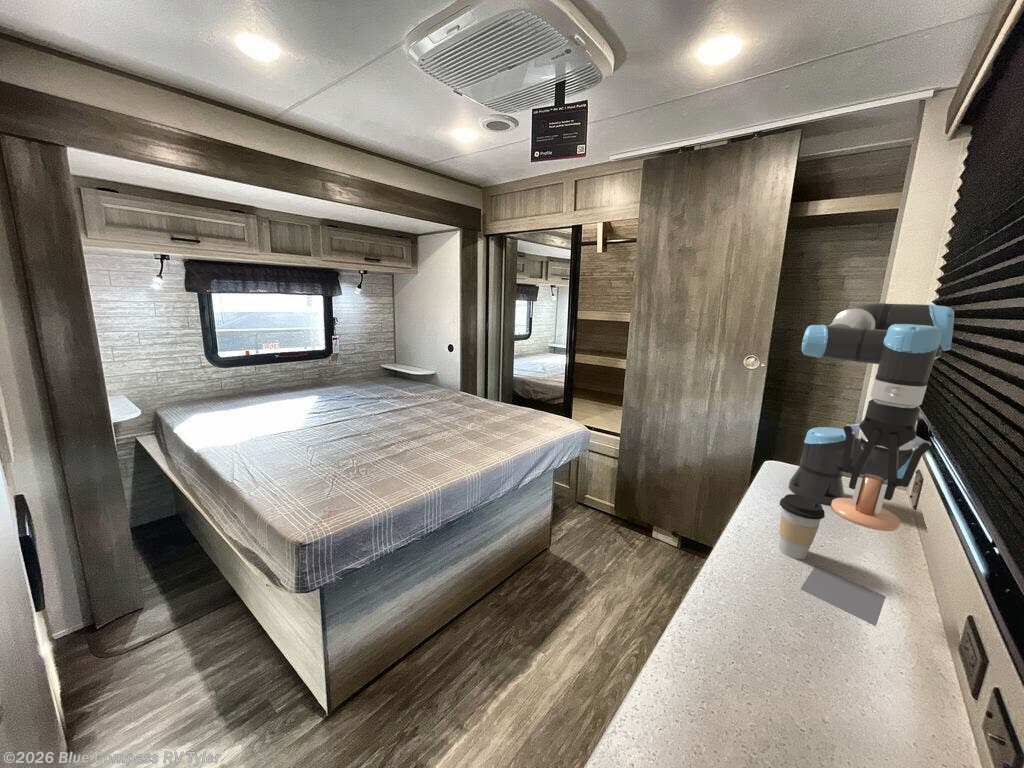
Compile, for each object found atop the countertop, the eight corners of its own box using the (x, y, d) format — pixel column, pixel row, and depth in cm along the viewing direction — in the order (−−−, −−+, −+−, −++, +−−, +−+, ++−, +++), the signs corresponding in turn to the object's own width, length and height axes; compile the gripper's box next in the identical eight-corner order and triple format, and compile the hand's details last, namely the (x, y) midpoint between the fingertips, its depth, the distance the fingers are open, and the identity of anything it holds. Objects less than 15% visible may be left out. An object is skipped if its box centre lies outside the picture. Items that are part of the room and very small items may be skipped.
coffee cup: (821, 568, 99) (834, 514, 95) (779, 562, 101) (791, 509, 97) (802, 545, 108) (814, 495, 104) (764, 539, 110) (774, 490, 106)
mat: (815, 567, 99) (815, 565, 99) (884, 598, 90) (885, 595, 90) (799, 591, 91) (800, 588, 91) (874, 628, 81) (875, 625, 81)
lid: (837, 496, 94) (846, 461, 91) (902, 517, 85) (914, 479, 83) (824, 512, 86) (834, 475, 84) (894, 538, 78) (907, 496, 76)
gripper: (839, 396, 83) (815, 497, 89) (952, 416, 71) (916, 531, 77) (847, 390, 88) (824, 487, 94) (954, 409, 76) (920, 518, 82)
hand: (865, 507), depth 85 cm, fingers closed on lid, 3 cm apart
